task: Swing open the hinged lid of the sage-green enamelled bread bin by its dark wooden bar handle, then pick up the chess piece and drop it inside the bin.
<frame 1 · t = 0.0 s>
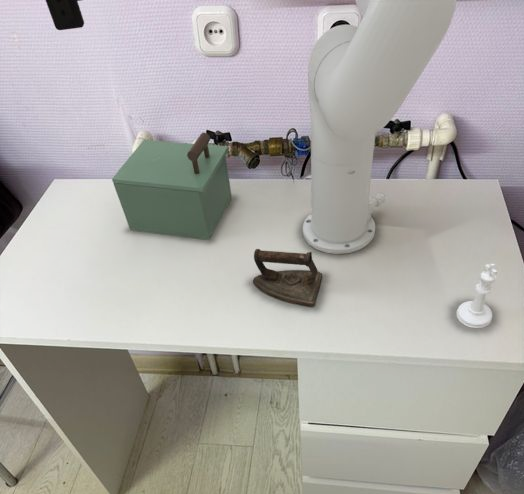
hand: (77, 12, 59), 37 cm above the table, tool pointing down, fingers open, 9 cm apart
bin lid: (168, 153, 85), point 13 cm above the table, hinge at 0.0°
chess piece: (473, 316, 73), on the table
clothes iron: (285, 288, 80), on the table
bread bin: (182, 213, 95), on the table
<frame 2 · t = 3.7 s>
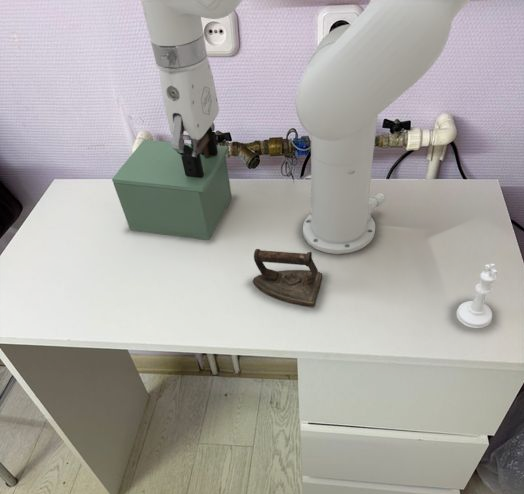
hand: (202, 164, 85), 11 cm above the table, tool pointing down, fingers closed on bin lid, 6 cm apart
bin lid: (168, 153, 85), point 13 cm above the table, hinge at -0.1°, touching gripper
everything else where it was.
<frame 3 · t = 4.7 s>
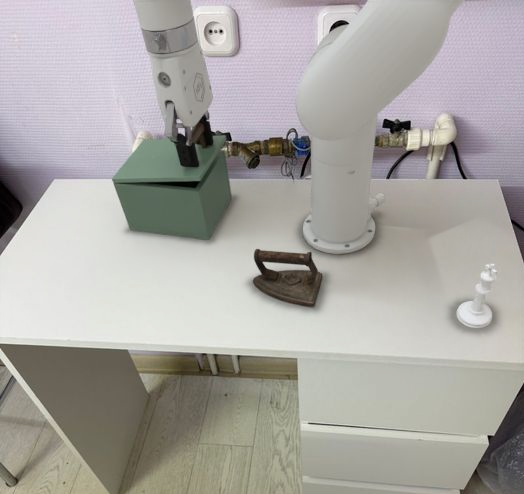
hand: (197, 153, 83), 13 cm above the table, tool pointing down, fingers closed on bin lid, 6 cm apart
bin lid: (165, 147, 84), point 14 cm above the table, hinge at 7.1°, touching gripper
everything else where it was.
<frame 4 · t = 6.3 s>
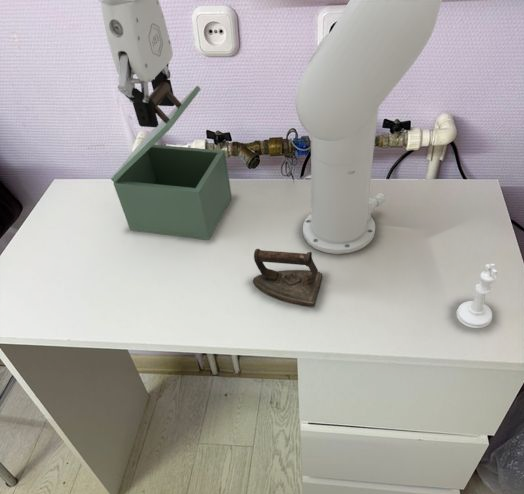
hand: (157, 114, 80), 19 cm above the table, tool pointing down, fingers closed on bin lid, 6 cm apart
bin lid: (145, 125, 82), point 17 cm above the table, hinge at 38.2°, touching gripper
everything else where it was.
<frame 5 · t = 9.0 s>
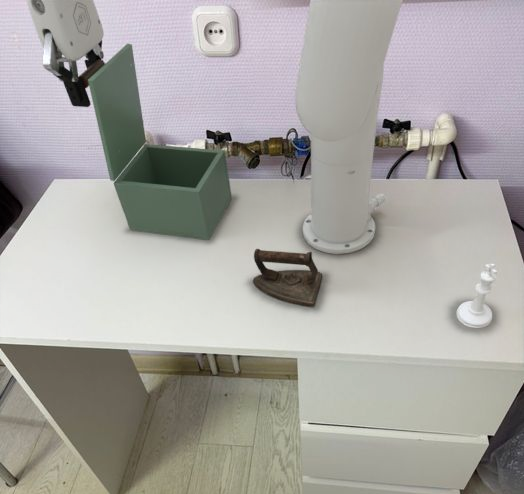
hand: (91, 94, 80), 22 cm above the table, tool pointing down, fingers closed on bin lid, 6 cm apart
bin lid: (109, 112, 82), point 19 cm above the table, hinge at 81.7°, touching gripper
everything else where it was.
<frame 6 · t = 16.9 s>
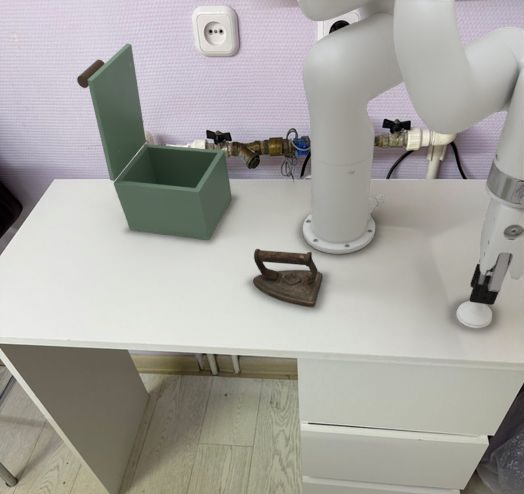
hand: (481, 293, 69), 5 cm above the table, tool pointing down, fingers closed on chess piece
bin lid: (108, 112, 82), point 19 cm above the table, hinge at 82.0°
chess piece: (473, 316, 73), on the table, touching gripper
everything else where it was.
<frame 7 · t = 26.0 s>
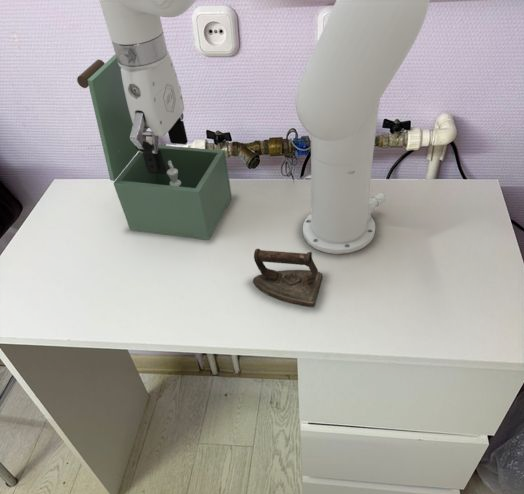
hand: (168, 157, 86), 12 cm above the table, tool pointing down, fingers open, 9 cm apart
chess piece: (182, 210, 94), point 1 cm above the table, touching bread bin
everything else where it was.
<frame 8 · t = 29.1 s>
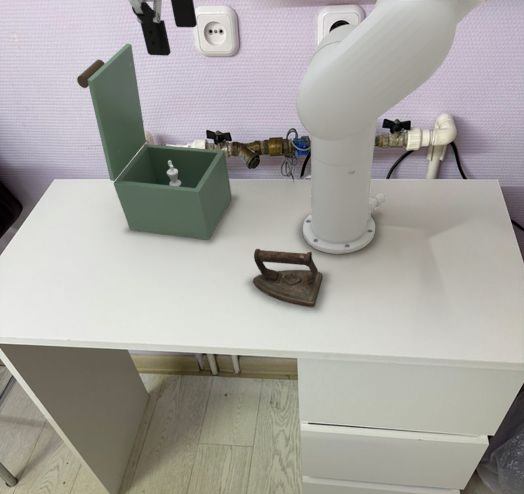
hand: (173, 39, 70), 30 cm above the table, tool pointing down, fingers open, 9 cm apart
nothing on the table moved.
at the end: bin lid at +82° (first picture: +0°); chess piece inside the target area in the bread bin (0.1 cm from its centre), point 0.8 cm above the bread bin's base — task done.
